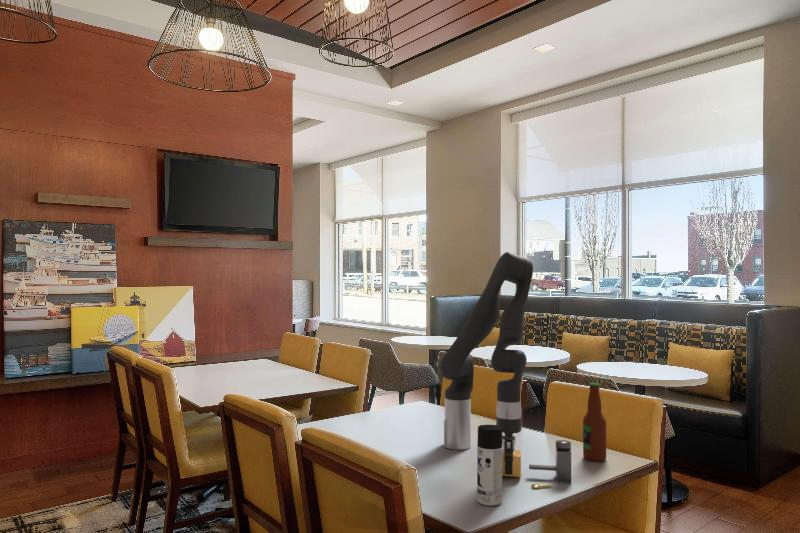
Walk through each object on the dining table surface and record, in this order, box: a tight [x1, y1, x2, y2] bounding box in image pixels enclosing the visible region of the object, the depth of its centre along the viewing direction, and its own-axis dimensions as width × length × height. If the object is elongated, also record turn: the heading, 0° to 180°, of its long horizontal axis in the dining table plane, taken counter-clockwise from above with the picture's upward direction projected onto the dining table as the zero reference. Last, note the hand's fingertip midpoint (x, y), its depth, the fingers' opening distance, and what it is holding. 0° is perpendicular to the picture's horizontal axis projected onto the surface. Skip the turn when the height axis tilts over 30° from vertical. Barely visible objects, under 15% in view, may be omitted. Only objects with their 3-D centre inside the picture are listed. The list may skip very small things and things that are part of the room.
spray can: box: [476, 424, 503, 507], centre depth 155 cm, size 7×7×20 cm
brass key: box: [531, 483, 553, 490], centre depth 166 cm, size 6×2×1 cm, turn 99°
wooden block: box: [502, 448, 522, 478], centre depth 176 cm, size 7×6×6 cm
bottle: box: [582, 382, 607, 463], centre depth 192 cm, size 7×7×25 cm
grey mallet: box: [528, 439, 572, 484], centre depth 173 cm, size 12×6×11 cm, turn 79°
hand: (508, 470), depth 176 cm, fingers closed on wooden block, 6 cm apart
